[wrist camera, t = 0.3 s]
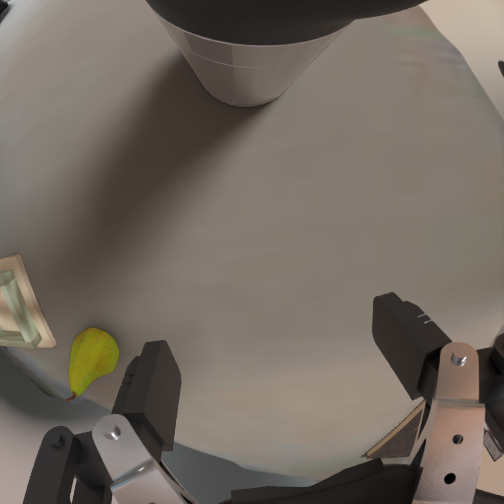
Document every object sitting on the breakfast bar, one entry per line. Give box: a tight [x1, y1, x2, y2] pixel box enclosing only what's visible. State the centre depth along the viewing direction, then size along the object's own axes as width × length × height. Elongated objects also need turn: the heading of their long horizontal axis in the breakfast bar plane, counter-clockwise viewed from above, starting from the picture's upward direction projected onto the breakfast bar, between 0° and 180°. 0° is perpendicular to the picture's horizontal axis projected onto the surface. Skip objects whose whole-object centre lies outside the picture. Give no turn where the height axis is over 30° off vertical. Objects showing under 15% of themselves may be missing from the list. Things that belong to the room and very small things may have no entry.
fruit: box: [66, 327, 120, 402], centre depth 27 cm, size 6×6×12 cm
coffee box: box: [483, 422, 504, 462], centre depth 41 cm, size 9×6×16 cm
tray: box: [0, 254, 57, 349], centre depth 29 cm, size 14×14×4 cm
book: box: [367, 400, 425, 459], centre depth 44 cm, size 16×23×2 cm
